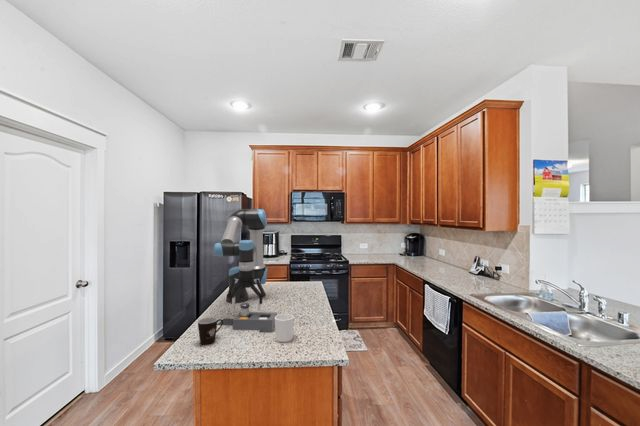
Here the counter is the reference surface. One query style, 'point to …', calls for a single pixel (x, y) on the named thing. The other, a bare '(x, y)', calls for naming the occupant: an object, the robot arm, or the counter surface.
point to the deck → (226, 322)
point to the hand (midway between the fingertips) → (246, 310)
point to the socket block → (255, 321)
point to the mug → (284, 327)
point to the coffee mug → (208, 330)
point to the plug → (245, 310)
